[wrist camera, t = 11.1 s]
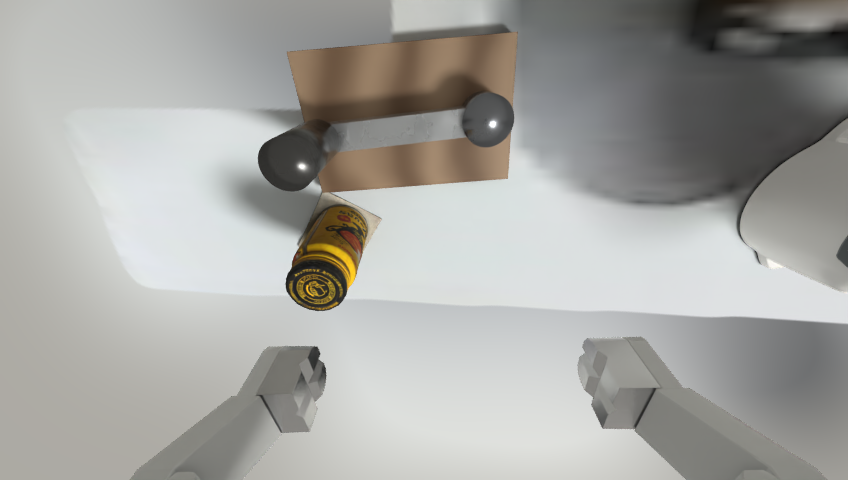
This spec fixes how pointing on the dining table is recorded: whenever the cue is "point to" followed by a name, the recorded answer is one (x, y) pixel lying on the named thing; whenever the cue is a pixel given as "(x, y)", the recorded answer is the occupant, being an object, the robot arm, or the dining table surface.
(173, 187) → the dining table surface
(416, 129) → the lever
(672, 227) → the dining table surface
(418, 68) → the board
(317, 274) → the condiment
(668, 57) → the dining table surface
